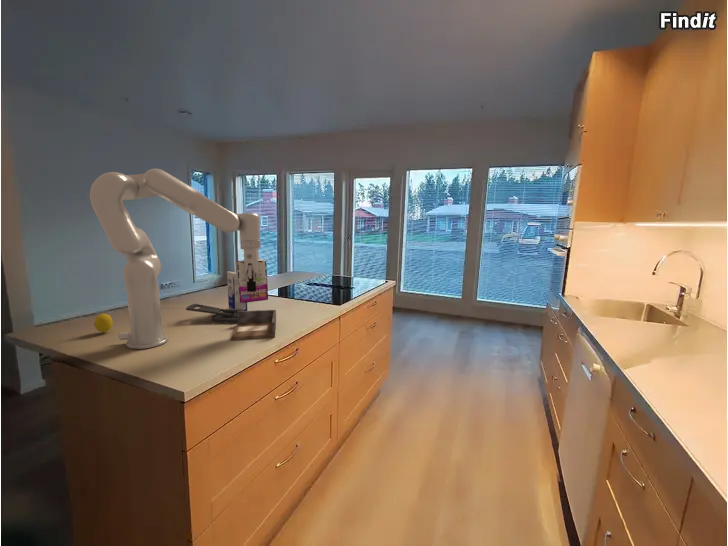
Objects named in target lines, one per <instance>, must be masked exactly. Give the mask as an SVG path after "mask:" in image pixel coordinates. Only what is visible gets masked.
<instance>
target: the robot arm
mask: <svg viewBox="0 0 728 546" xmlns="http://www.w3.org/2000/svg"><path fill="white" fill-rule="evenodd" d="M89 190H90V191H89V200H90V203H91V207H92V209H93V211H94V213H95V215H96V217H97V219H98V221H99V222H100V225H101V227H102V229H103V231H104V232H105V234H106V237H107V239H108V241H109V244H110V245H111V247H112V249H113V250H115V252H116V253H118V254H120V255H124V256H125V258H126V260H127V262H126V264H125V265H124V267H123V271H122V272H123V274H122V275H123V280H124V281H123V282H124V285H125V291H126V297H127V300H126V301H127V308H128V317H129V327H130V330H129V332H119V333H118V336H117V337H118V338H119V341H122V340H123V341H124V340H127V341H126V343H125V344H126V347H127V348H128V349H132V350H143V349H144V350H145V349H152V348H154V347H158V346H159V347H160V346H161V345H163V344H165V343H166V342H168V339H169V337H168V335H166V334H163V325H162V324H163V323H162V311H161V310H162V309H161V298H160V297H161V296H160V290H159V289H160V288H159V284H158V283H159V282H158V276H159V275H160V273H161V270H162V263H161V260H160V258H159V256H158V254H157V253H156V250H155V248H154V245H153V244H152V242H151V240H150V238H149V236H148V235H147V234H146V232H145V231H144V230H143V229H141V228H139V227H136V225H135V223H134V222H133V220H132V217H131V214H130V213H129V211H128V210H127V208H126V206H125V205H124V201H130V200H132V201H133V200H140V199H146V198H155V197H159V198H162V199H163V200H165V201H167V202H168V203H171V204H172V205H173V206H176V207H178V209H179V208H180V209H181V210H183V211H184V212H186V213H188V214H190V215H193V216H194V217H197V218H199V219H200V220H201V221H204V222H206V223H208V224H210V225H212V226H213V227H214V228H217V229H218V230H220V231H222V232H224V233H227V234H230V233H234V232H237V231H239V243H240V246H239V247H240V250H243V261H244V266H245V274H247V291H248V292H255V291H256V281H255V273H256V274H258V273H259V265H258V261H259V260H260V255H259V253H260V252H259V250H260V249H261V246H262V245H261V228H260V227H261V226H260V225H261V224H260V223H261V222H260V215H259V214H258V213H255V212H254V213H253V212H242V213H236V212H232V211H230V210H228V209H227V208H225V207H224V206H222V205H220V204H218V203H216V202H215V201H213V200H212V199H210V198H208V197H207V196H205V195H204V194H203V193H202V192H200V191H199V190H197V189H196V188H194V187H192V186H190V185H188V184H187V183H185V182H183V181H181V180H180V179H178V178H177V177H175V176H173V175H172V174H170V173H168V172H166V171H165V170H163V169H161V168H150V169H149V170H147V171H146V172H145V173H140V174H128V175H126V174H124V173H121V172H117V171H109V172H105V173H103V174H101V175H99V176H98V177H97V178H96V179H95V180H94V181H93V183H92V185H91V186H90V189H89ZM252 272H254V273H252Z"/></svg>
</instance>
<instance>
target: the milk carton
mask: <svg viewBox="0 0 728 546" xmlns="http://www.w3.org/2000/svg"><path fill="white" fill-rule="evenodd" d="M226 274H227V276H226V277H227V299H228V302H227V303H228V309H243V310H244V311H248V302H247V303H240V302H239V300H238V288H237V273H236V271H226Z"/></svg>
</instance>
